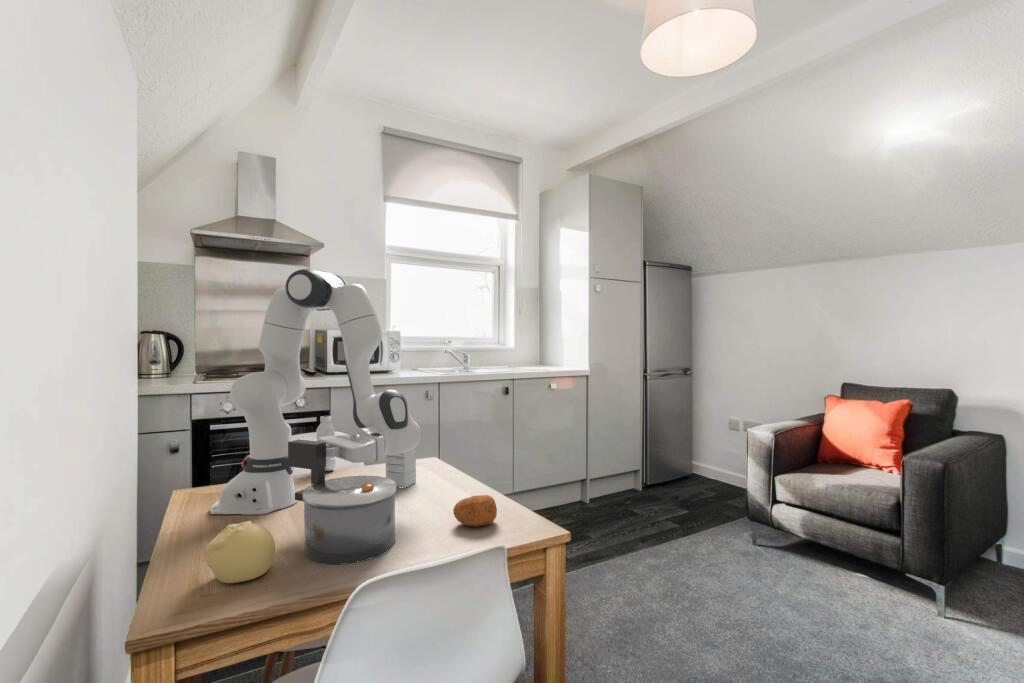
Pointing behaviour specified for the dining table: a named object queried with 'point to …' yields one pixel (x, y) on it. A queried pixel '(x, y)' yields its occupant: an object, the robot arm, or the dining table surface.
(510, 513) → the dining table surface
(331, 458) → the plastic bottle
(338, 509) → the cooker pot
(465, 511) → the potato
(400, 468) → the supplement box
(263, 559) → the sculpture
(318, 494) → the cooker lid
